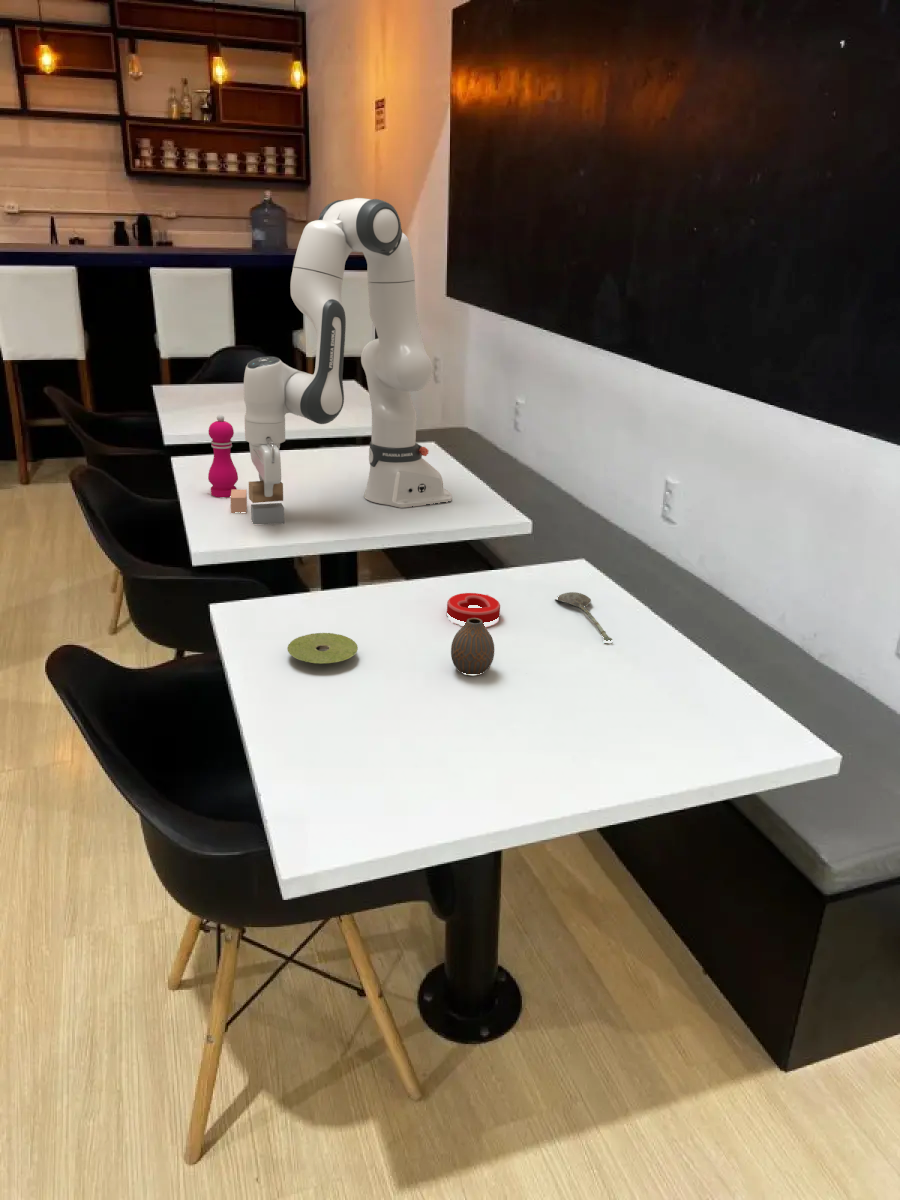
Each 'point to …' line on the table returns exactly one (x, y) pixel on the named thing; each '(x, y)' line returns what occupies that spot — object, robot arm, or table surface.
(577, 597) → the soupspoon
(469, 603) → the decorative ornament
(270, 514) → the slate-grey brick
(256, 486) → the walnut brick
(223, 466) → the pepper mill
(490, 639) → the vase
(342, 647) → the mat
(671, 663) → the table surface
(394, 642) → the table surface
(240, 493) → the terracotta brick
